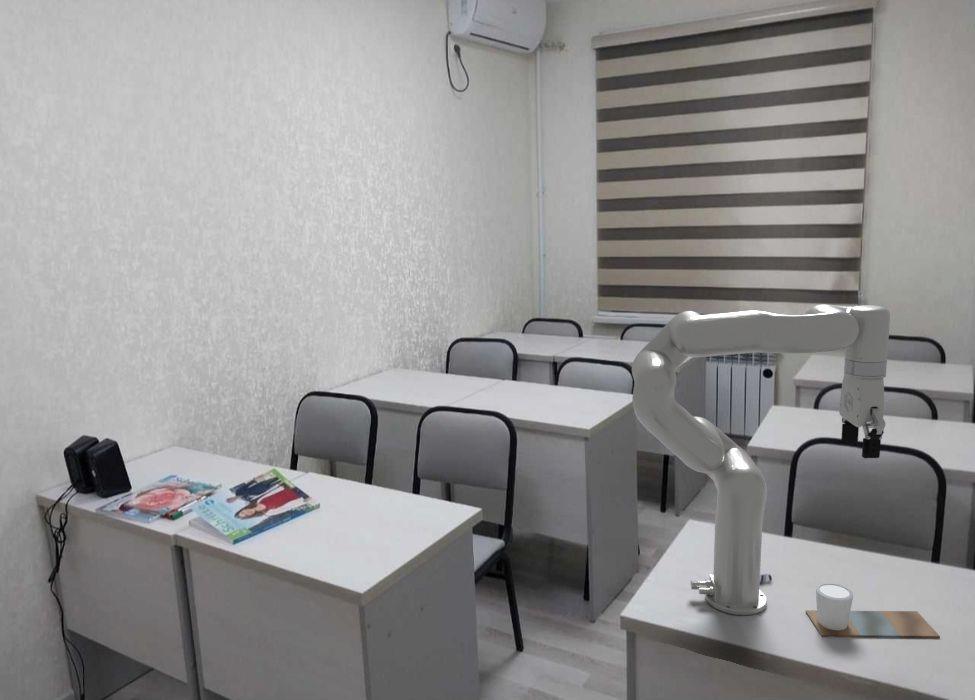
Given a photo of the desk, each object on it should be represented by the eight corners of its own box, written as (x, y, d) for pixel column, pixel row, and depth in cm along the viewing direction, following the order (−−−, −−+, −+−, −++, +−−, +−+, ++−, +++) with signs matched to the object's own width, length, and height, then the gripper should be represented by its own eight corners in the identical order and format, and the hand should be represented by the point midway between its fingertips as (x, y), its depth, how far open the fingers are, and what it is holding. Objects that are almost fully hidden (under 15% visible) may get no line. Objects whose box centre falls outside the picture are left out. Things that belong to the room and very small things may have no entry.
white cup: (808, 613, 156) (810, 582, 154) (842, 613, 156) (844, 582, 154) (822, 632, 149) (824, 599, 148) (857, 631, 149) (859, 599, 147)
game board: (821, 636, 148) (821, 634, 148) (805, 612, 157) (805, 610, 157) (939, 637, 147) (939, 636, 147) (916, 613, 156) (917, 611, 155)
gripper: (828, 359, 158) (824, 436, 162) (865, 378, 141) (859, 464, 145) (865, 358, 158) (859, 436, 161) (906, 377, 141) (899, 464, 144)
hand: (859, 449), depth 153 cm, fingers open, 9 cm apart
